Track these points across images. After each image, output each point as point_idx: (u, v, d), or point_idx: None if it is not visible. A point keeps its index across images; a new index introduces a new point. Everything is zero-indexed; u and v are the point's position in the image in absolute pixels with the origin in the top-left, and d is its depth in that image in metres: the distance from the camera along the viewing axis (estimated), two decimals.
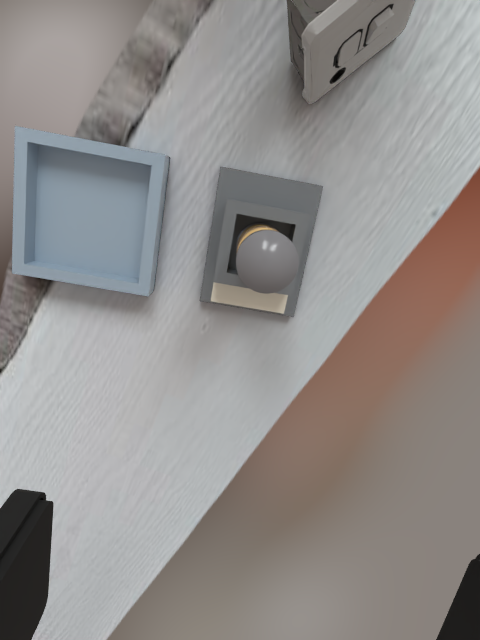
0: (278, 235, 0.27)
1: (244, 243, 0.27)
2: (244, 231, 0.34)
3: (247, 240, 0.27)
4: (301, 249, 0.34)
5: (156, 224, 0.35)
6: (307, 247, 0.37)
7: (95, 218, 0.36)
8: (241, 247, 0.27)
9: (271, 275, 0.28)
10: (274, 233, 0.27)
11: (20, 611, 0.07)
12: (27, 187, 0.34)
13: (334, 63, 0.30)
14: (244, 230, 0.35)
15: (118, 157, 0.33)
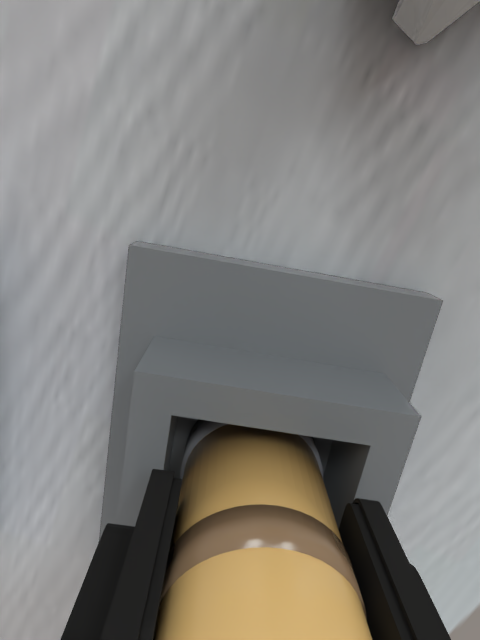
0: None
1: None
2: (200, 464, 0.10)
3: None
4: None
5: None
6: None
7: None
8: None
9: None
10: None
11: None
12: None
13: None
14: (203, 444, 0.11)
15: None
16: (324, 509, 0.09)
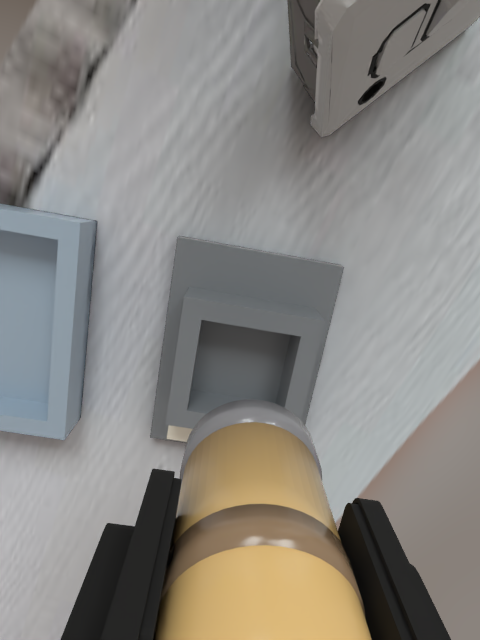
0: None
1: None
2: (199, 465, 0.10)
3: None
4: (309, 374, 0.21)
5: (71, 332, 0.21)
6: (318, 359, 0.23)
7: None
8: None
9: None
10: None
11: None
12: None
13: (371, 70, 0.16)
14: (202, 446, 0.11)
15: (1, 227, 0.20)
16: (323, 509, 0.09)
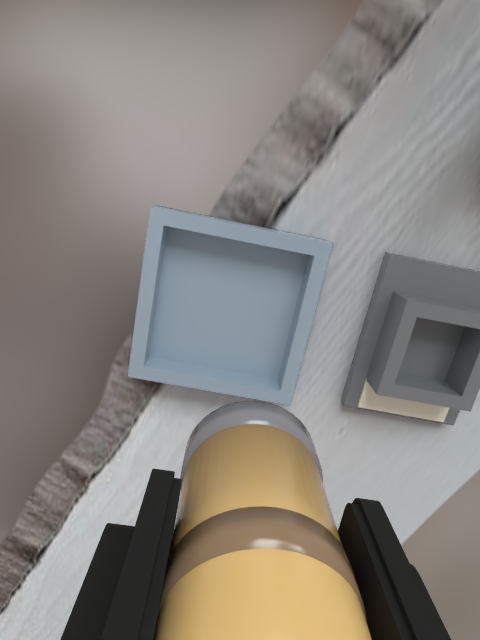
0: None
1: None
2: (200, 467, 0.10)
3: None
4: None
5: (310, 324, 0.28)
6: None
7: (228, 309, 0.30)
8: None
9: None
10: None
11: None
12: (156, 277, 0.27)
13: None
14: (203, 448, 0.11)
15: (274, 245, 0.27)
16: (324, 512, 0.09)
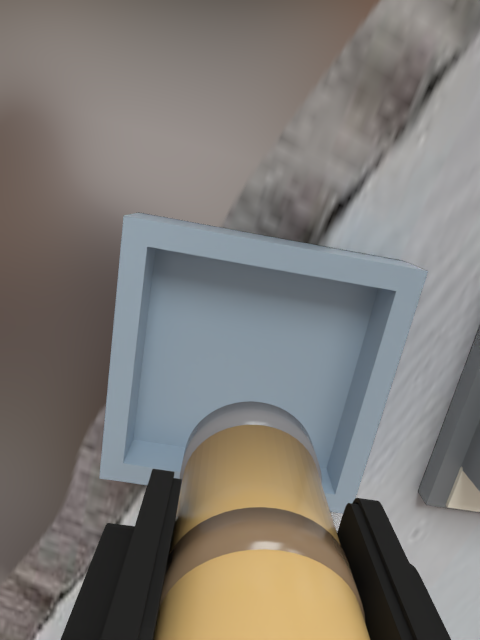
0: None
1: None
2: (199, 468, 0.10)
3: None
4: None
5: (386, 396, 0.18)
6: None
7: (252, 370, 0.19)
8: None
9: None
10: None
11: None
12: (139, 329, 0.17)
13: None
14: (202, 448, 0.11)
15: (331, 276, 0.16)
16: (322, 512, 0.09)
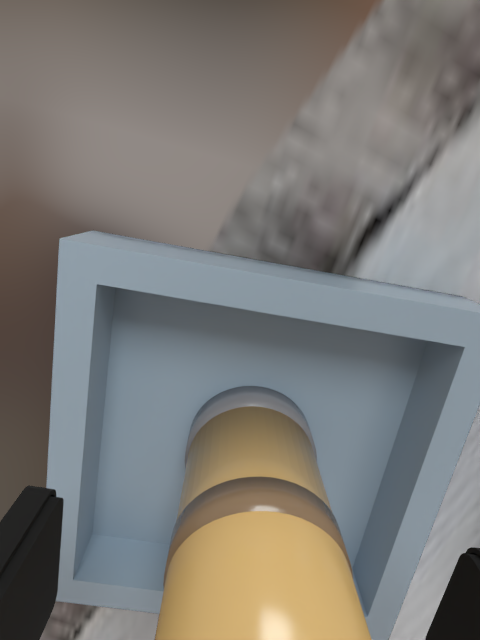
0: None
1: None
2: (203, 445, 0.11)
3: None
4: None
5: (443, 490, 0.13)
6: None
7: None
8: None
9: None
10: None
11: (32, 605, 0.08)
12: (89, 400, 0.12)
13: None
14: (206, 428, 0.12)
15: (370, 326, 0.11)
16: (316, 483, 0.10)
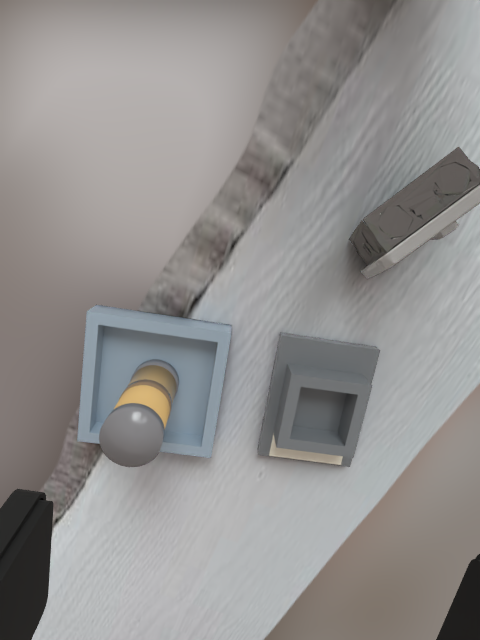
0: (138, 415, 0.27)
1: (105, 422, 0.27)
2: (133, 376, 0.34)
3: (108, 420, 0.27)
4: (362, 416, 0.35)
5: (220, 393, 0.36)
6: None
7: None
8: (103, 426, 0.27)
9: (135, 451, 0.28)
10: (134, 413, 0.27)
11: (20, 611, 0.07)
12: (95, 363, 0.35)
13: None
14: (136, 372, 0.35)
15: (186, 336, 0.34)
16: (165, 384, 0.33)
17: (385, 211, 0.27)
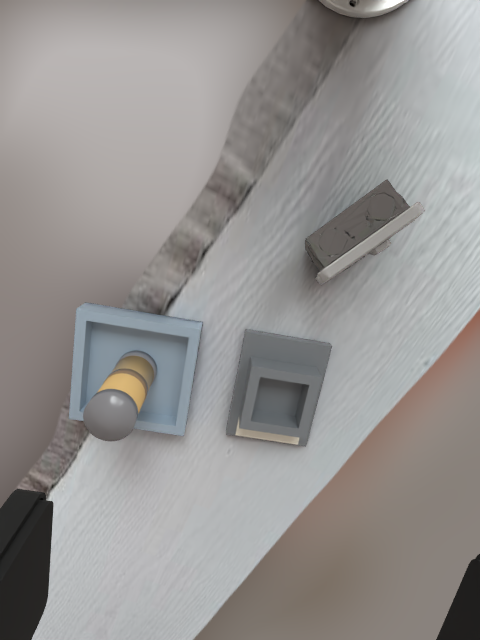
0: (115, 398, 0.33)
1: (88, 404, 0.33)
2: (116, 365, 0.40)
3: (90, 402, 0.33)
4: (313, 403, 0.41)
5: (191, 381, 0.41)
6: (318, 393, 0.43)
7: None
8: (86, 407, 0.33)
9: (113, 428, 0.34)
10: (112, 397, 0.33)
11: (20, 611, 0.07)
12: (84, 353, 0.41)
13: None
14: (119, 361, 0.41)
15: (161, 331, 0.40)
16: (142, 372, 0.39)
17: (324, 233, 0.32)
